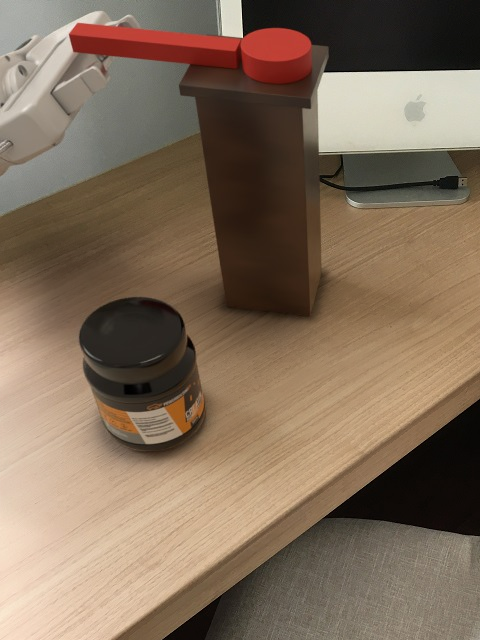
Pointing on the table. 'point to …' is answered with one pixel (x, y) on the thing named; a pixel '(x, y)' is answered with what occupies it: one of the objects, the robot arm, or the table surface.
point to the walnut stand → (262, 182)
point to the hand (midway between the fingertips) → (119, 47)
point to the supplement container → (142, 373)
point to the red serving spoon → (204, 49)
